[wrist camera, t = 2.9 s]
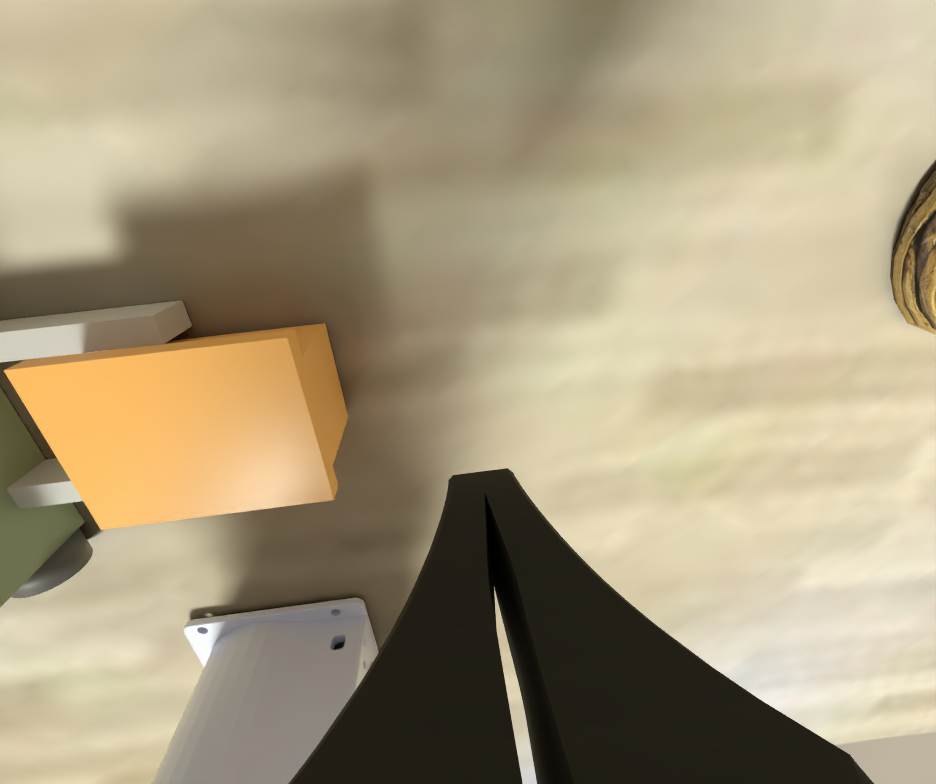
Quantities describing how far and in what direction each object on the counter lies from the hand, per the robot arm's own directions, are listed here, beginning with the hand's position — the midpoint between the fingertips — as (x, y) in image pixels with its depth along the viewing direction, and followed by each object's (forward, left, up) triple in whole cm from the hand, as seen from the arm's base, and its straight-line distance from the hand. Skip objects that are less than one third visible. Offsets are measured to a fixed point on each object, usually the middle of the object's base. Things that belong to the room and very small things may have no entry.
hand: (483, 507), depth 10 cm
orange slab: (+9, 0, -9) cm, 13 cm away
